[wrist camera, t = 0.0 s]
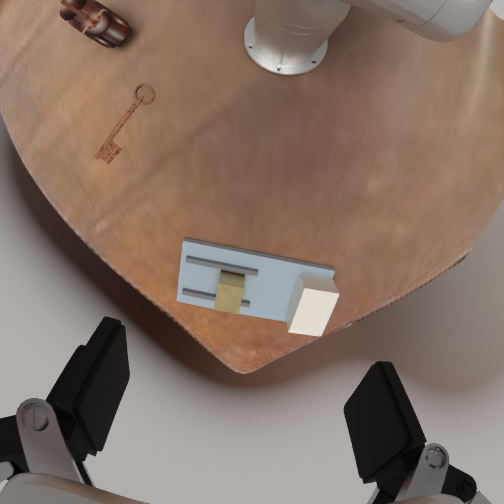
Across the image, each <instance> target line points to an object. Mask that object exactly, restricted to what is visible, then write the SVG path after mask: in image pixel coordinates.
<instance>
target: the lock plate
mask: <svg viewBox="0 0 504 504" xmlns="http://www.w3.org/2000/svg"><path fill="white" fill-rule="evenodd" d="M221 270H226V271H232V272H237V273H242V274H245V285H244V292H243V296H242V300H241V304H240V308H239V314H244V315H250V316H256V317H261V318H267V319H274V320H280V321H286V322H287V320H286V313H287V310H288V307H289V304H290V301H291V298H292V295H293V292H294V289H295V286H296V283H297V280H298V277H299V274H300V273H305V274H310V275H316V276H321V277H326V278H331V279H332V278H333V275H334V273H335V270H334V268H333V267H329V266H325V265H320V264H315V263H310V262H305V261H300V260H295V259H290V258H285V257H280V256H275V255H270V254H265V253H260V252H255V251H250V250H245V249H240V248H235V247H230V246H225V245H220V244H215V243H210V242H205V241H200V240H195V239H190V238H185V239H184V240H183V246H182V254H181V263H180V272H179V281H178V291H177V301H179V302H183V303H188V304H193V305H197V306H202V307H207V308H212V309H214V304H215V299H216V293H217V288H218V283H219V278H220V273H221Z"/></svg>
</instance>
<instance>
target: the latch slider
mask: <svg viewBox="0 0 504 504" xmlns="http://www.w3.org/2000/svg"><path fill="white" fill-rule="evenodd" d="M244 285H245V274H242V273H237V272H232V271H226V270H221V273H220V278H219V283H218V288H217V293H216V299H215V304H214V310H218V311H223V312H229V313H234V314H238V313H239V308H240V304H241V300H242V296H243V292H244Z"/></svg>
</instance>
